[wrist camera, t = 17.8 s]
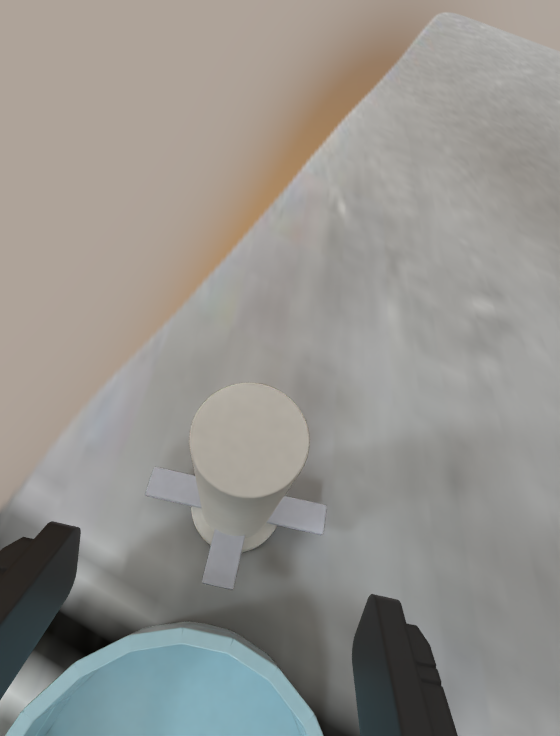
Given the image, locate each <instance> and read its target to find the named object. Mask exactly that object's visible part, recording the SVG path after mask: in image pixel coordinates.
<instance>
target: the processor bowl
mask: <svg viewBox="0 0 560 736" xmlns="http://www.w3.org/2000/svg"><path fill="white" fill-rule="evenodd" d="M5 736H323V733H322V731H321V728H320V726H319V723H318V721H317V718H316V716H315V715H314V712H313V711H312V710H311V708H310V707H309V706H308V705H307V703H306V702H305V701H304V699H303V698H302V697H301V696H300V694H299V693H298V692H297V690H296V689H295V688H294V687H293V685H292V684H291V683H290V681H289V680H288V679H287V678H286V676H285V675H284V674H283V673H282V671H281V670H280V669H279V667H278V666H277V665H276V664H275V663H274V661H273V660H272V659H271V658H270V656H269V655H268V654H267V653H266V652H264V651H263V650H261V649H260V648H258V647H257V646H255V645H254V644H252V643H251V642H249V641H248V640H246V639H245V638H243V637H242V636H240V635H238V634H237V633H235V632H233V631H230V630H229V629H225V628H220V627H217V626H214V625H210V624H203V623H197V622H193V621H190V622H189V621H185V622H176V623H170V624H163V625H157V626H150V627H146V628H143V629H141V630H139V631H137V632H134V633H132V634H130V635H128V636H126V637H124V638H122V639H120V640H118V641H116V642H114V643H112V644H110V645H108V646H106V647H104V648H102V649H100V650H98V651H96V652H94V653H92V654H90V655H88V656H86V657H84V658H82V659H80V660H78V661H76V662H75V663H73V664H72V665H71V666H70V667H69V668H68V669H67V670H66V671H64V672H63V673H62V674H61V675H60V676H59V677H58V678H57V679H56V680H55V681H53V682H52V683H51V684H50V685H49V686H48V687H47V688H46V689H45V690H44V691H42V692H41V693H40V694H39V695H38V696H37V697H36V698H35V699H34V700H33V701H31V702H30V703H29V704H28V705H27V706H26V707H25V708H24V710H23V711H21V713H20V714H19V716H18V717H17V719H16V720H15V722H14V723H13V725H12V726H11V728H10V729H9V730H8V732H7V733H6V735H5Z"/></svg>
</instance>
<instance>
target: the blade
mask: <svg viewBox="0 0 560 736" xmlns="http://www.w3.org/2000/svg"><path fill="white" fill-rule="evenodd" d="M309 444H310V440H309V430H308V426H307V423H306V420H305V418H304V416H303V414H302V412H301V411H300V409H299V408H298V406H297V405H296V404H295V403H294V402H293V401H292V400H291V399H290V398H289V397H288V396H287V395H285V394H284V393H283V392H281V391H279V390H277V389H275V388H273V387H271V386H268V385H264V384H259V383H239V384H233V385H230V386H227V387H225V388H223V389H221V390H219V391H217V392H215V393H214V394H212V395H211V396H210V397H209V398H208V399H207V400H206V401H205V402H204V403H203V404H202V405H201V406H200V408H199V409H198V411H197V413H196V414H195V416H194V419H193V421H192V424H191V428H190V435H189V447H190V452H191V457H192V462H193V467H194V472H195V475H191V474H186V473H182V472H178V471H173V470H169V469H164V468H160V467H154V468H153V471H152V474H151V477H150V480H149V483H148V486H147V489H146V492H145V495H146V496H148V497H152V498H157V499H161V500H166V501H170V502H175V503H179V504H184V505H188V506H191V513H192V518H193V521H194V524H195V527H196V529H197V531H198V533H199V534H200V536H201V537H202V538H203V539H204V540H205V541H206V542H207V543H208V544H209V545H211V546H210V550H209V554H208V558H207V562H206V566H205V570H204V574H203V578H202V583H203V584H208V585H212V586H217V587H222V588H226V589H231V590H233V589H234V585H235V580H236V575H237V571H238V566H239V562H240V557H241V553H242V552H246V551H250V550H252V549H254V548H256V547H258V546H260V545H261V544H262V543H264V542H265V541H266V540H267V539H268V538H269V537H270V536H271V534H272V533H273V532H274V530H275V529H276V527H277V526H282V527H286V528H291V529H295V530H300V531H304V532H309V533H313V534H318V535H322V534H323V532H324V525H325V518H326V510H327V505H324V504H319V503H315V502H311V501H306V500H302V499H297V498H293V497H288V496H285V494H286V493H287V491H288V490H289V488H290V487H291V485H292V484H293V482H294V481H295V479H296V478H297V476H298V475H299V473H300V472H301V470H302V468H303V466H304V465H305V462H306V459H307V456H308V452H309Z"/></svg>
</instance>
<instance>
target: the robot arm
mask: <svg viewBox="0 0 560 736" xmlns="http://www.w3.org/2000/svg"><path fill="white" fill-rule="evenodd" d="M80 534H81V531H80V528H79V527H75V526H70V525H66V524H62V523H57V522H49V523H48V524H47V525H46V526H45V527H44V528H43V530H42V531H41V532H40V533H39V534H38V535H37V536H36V537H35V539H30V538H26V537H22V538H20V539H19V540H17V541H15V542H13V543H12V544H10V545H8V546H6V547H4V548H3V549H2V550H1V551H0V700H1V698H2V697H3V695H4V693H5V692H6V690H7V689H8V687H9V686H10V684H11V683H12V681H13V680H14V678H15V677H16V675H17V674H18V672H19V670H20V669H21V667H22V666H23V664H24V663H25V661H26V660H27V658H28V657H29V655H30V654H31V652H32V650H33V649H34V647H35V646H36V644H37V643H38V641H39V640H40V638H41V637H42V635H43V634H44V632H45V631H46V629H47V627H48V626H49V624H50V623H51V621H52V620H53V618H54V617H55V615H56V614H57V612H58V611H59V609H60V608H61V606H62V604H63V603H64V601H65V600H66V598H67V597H68V595H69V593H70V591H71V588H72V586H73V583H74V580H75V577H76V572H77V562H78V553H79V544H80ZM352 665H353V674H354V683H355V691H356V700H357V709H358V718H359V727H360V736H458V735H457V732H456V729H455V725H454V722H453V719H452V716H451V712H450V709H449V706H448V703H447V699H446V696H445V693H444V690H443V687H441V680H440V677H439V673H438V670H437V669H436V663H435V660H434V657H433V654H432V650H431V647H430V645H429V643H428V642H427V640H426V639H425V637H424V636H423V634H422V633H421V631H420V630H419V628H418V627H417V626H415V625H411V624H406V621H405V617H404V613H403V609H402V606H401V603H400V601H399V600H396V599H392V598H387V597H383V596H378V595H374V594H371V595H370V596H369V598H368V600H367V603H366V606H365V608H364V611H363V614H362V617H361V620H360V622H359V625H358V628H357V631H356V633H355V637H354V641H353V648H352Z"/></svg>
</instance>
